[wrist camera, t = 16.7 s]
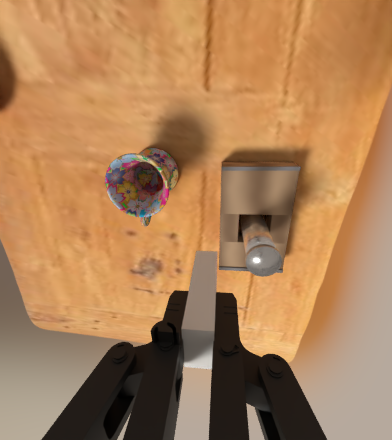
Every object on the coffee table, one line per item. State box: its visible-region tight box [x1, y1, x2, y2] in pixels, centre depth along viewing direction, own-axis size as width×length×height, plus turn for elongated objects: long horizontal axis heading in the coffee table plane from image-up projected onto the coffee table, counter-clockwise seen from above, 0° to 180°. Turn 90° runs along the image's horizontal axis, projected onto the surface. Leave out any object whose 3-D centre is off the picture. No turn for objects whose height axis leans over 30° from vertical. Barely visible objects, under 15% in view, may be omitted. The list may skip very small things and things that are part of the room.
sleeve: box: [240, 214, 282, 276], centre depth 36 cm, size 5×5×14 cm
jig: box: [219, 162, 301, 273], centre depth 40 cm, size 12×20×4 cm, turn 1°
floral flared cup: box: [105, 148, 178, 226], centre depth 37 cm, size 12×9×11 cm
